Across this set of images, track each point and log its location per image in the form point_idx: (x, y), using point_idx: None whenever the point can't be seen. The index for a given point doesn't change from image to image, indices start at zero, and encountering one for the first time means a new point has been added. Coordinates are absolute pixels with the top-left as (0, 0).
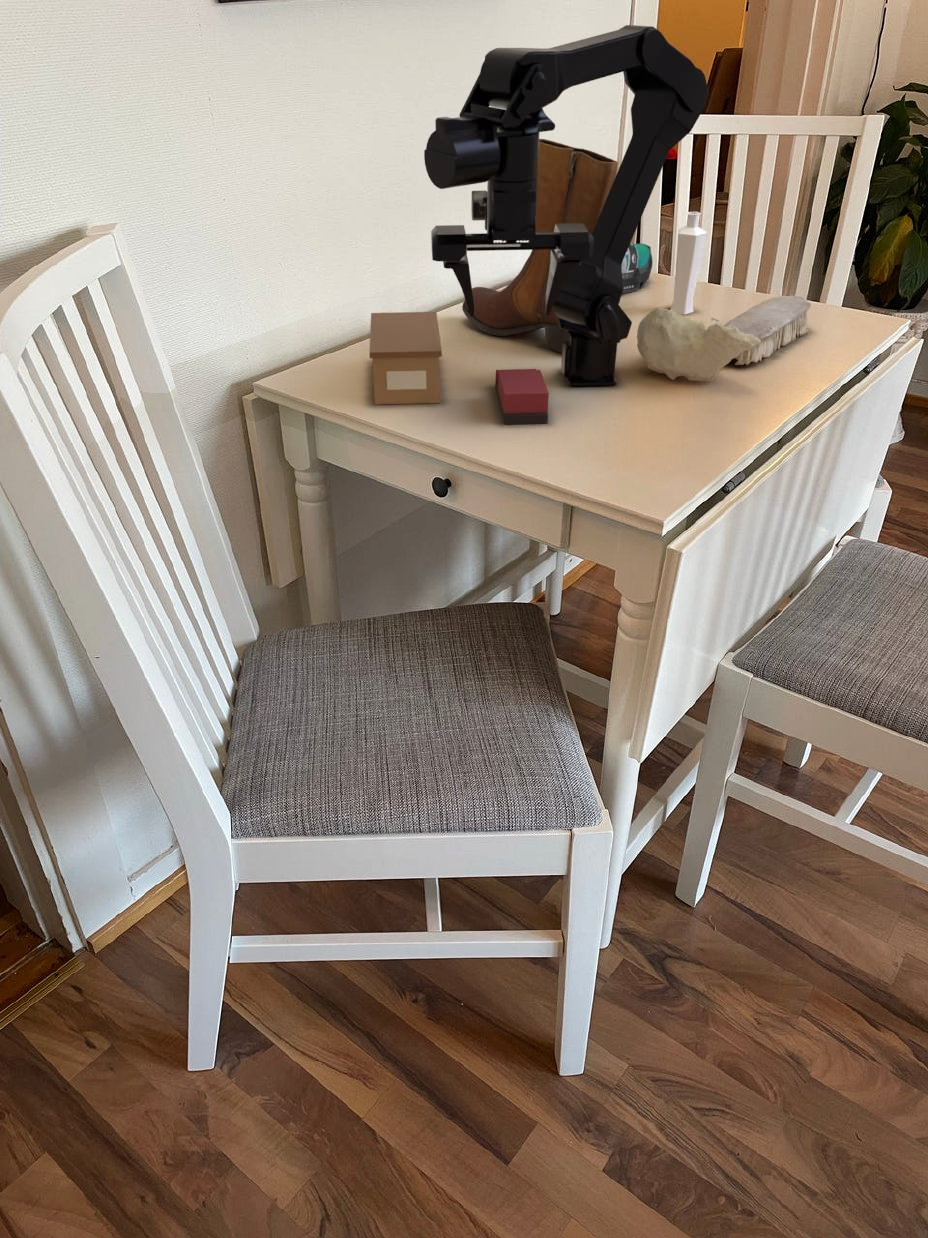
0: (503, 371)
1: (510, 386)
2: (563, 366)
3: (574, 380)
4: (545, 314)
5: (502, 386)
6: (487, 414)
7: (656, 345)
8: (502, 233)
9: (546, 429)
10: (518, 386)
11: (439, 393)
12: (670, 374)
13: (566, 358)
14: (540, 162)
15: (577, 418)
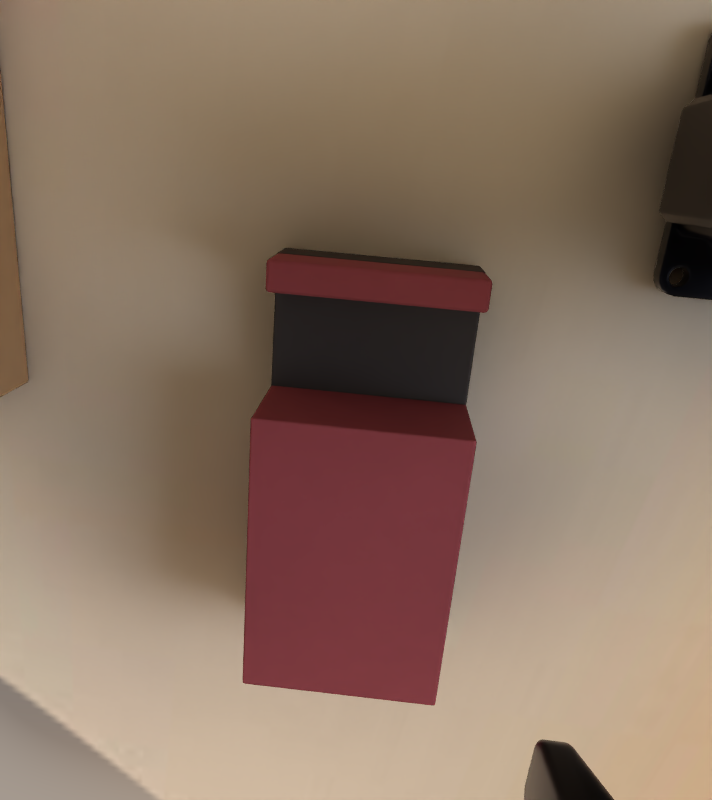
0: (274, 438)
1: (280, 617)
2: (683, 181)
3: (695, 261)
4: (526, 783)
5: (245, 603)
6: (217, 515)
7: None
8: None
9: None
10: (316, 623)
11: (3, 393)
12: None
13: (709, 225)
14: None
15: (554, 604)
